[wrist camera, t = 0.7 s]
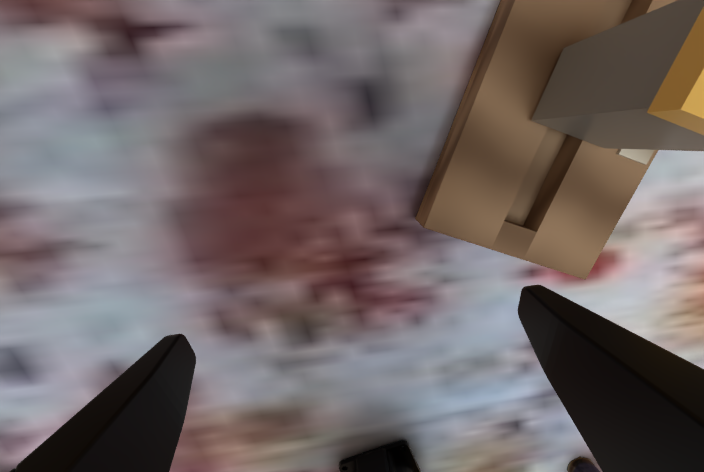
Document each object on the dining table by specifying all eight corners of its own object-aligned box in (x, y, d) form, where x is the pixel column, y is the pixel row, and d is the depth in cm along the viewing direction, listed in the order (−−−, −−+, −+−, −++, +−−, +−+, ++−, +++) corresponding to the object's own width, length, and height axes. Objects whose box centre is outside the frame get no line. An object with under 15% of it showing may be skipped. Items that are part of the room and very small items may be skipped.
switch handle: (586, 153, 21) (819, 165, 11) (509, 125, 21) (680, 109, 10) (623, 81, 20) (923, 17, 10) (543, 48, 20) (773, -57, 9)
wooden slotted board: (561, 266, 25) (587, 280, 22) (415, 218, 23) (424, 228, 21) (740, -68, 19) (802, -100, 17) (562, -156, 18) (599, -207, 15)
